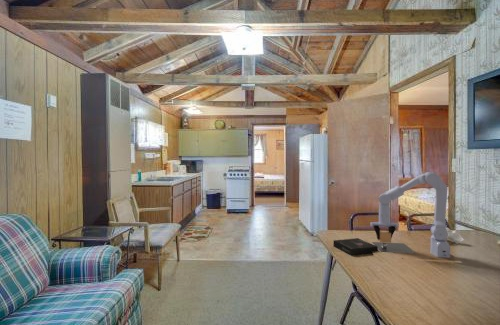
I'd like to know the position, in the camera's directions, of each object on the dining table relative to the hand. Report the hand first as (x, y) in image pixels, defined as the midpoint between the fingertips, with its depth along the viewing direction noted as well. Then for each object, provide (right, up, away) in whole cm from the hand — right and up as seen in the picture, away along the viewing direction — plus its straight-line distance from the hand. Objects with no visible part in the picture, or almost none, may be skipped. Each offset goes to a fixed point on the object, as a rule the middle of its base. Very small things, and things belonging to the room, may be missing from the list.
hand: (384, 239), depth 162 cm
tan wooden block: (0, -1, 0) cm, 1 cm away
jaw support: (+45, -6, +14) cm, 47 cm away
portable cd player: (-16, -6, 0) cm, 18 cm away
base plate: (+5, -6, 0) cm, 8 cm away
